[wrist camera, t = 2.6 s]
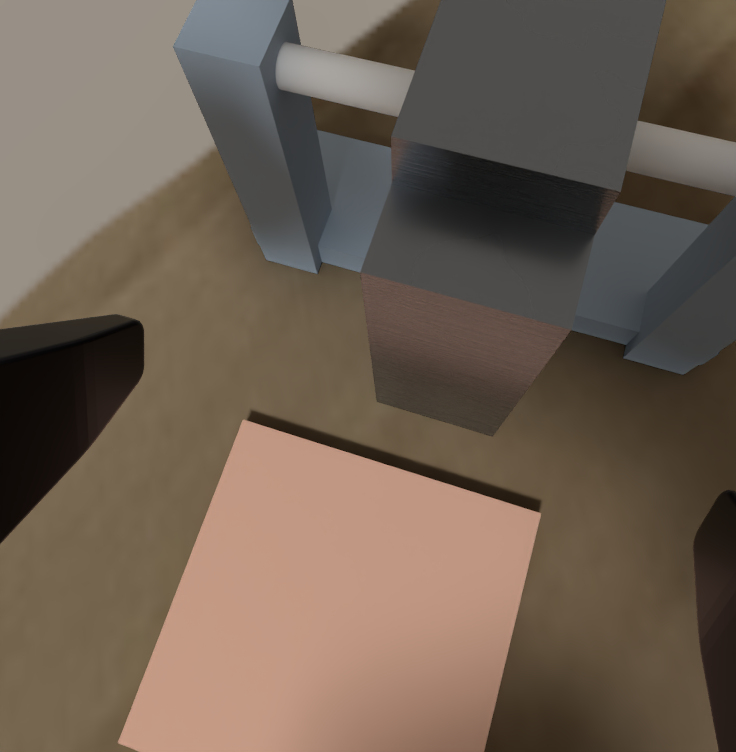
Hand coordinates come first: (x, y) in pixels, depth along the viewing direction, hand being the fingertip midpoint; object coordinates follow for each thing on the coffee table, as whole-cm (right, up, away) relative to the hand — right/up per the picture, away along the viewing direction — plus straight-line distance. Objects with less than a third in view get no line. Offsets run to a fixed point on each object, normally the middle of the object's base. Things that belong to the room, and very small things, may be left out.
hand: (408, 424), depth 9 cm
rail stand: (+4, +5, +13) cm, 14 cm away
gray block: (+3, +3, +12) cm, 13 cm away
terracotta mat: (-1, -7, +9) cm, 12 cm away
